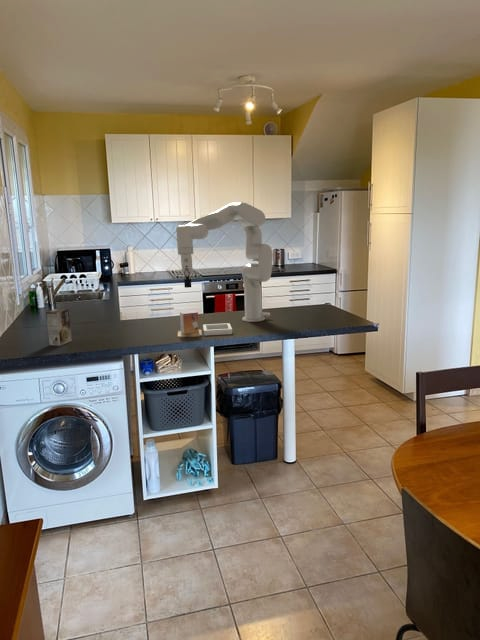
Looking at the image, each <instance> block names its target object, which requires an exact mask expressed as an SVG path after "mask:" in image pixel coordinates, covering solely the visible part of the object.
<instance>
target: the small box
mask: <svg viewBox="0 0 480 640" xmlns="http://www.w3.org/2000/svg"><path fill="white" fill-rule="evenodd" d="M179 319H180V322H179V324H180V331H181V333H183V334H191V333H199V330H200V328H199V312H198V311H196V310H191V311H180V312H179Z"/></svg>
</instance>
